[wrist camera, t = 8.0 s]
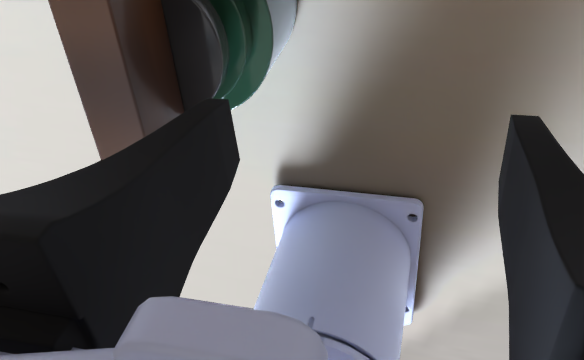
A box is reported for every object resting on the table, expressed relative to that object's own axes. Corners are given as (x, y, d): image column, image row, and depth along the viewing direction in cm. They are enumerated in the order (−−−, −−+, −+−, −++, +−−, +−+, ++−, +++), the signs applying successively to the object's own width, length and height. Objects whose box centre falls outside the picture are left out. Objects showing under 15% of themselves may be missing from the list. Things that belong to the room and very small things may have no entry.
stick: (204, 205, 23) (175, 254, 21) (161, 200, 24) (129, 248, 22) (122, -190, 15) (60, -180, 13) (59, -185, 16) (-12, -175, 13)
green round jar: (302, 82, 26) (266, 153, 21) (146, 73, 27) (81, 137, 23) (290, -110, 21) (240, -72, 16) (102, -105, 23) (10, -69, 18)
